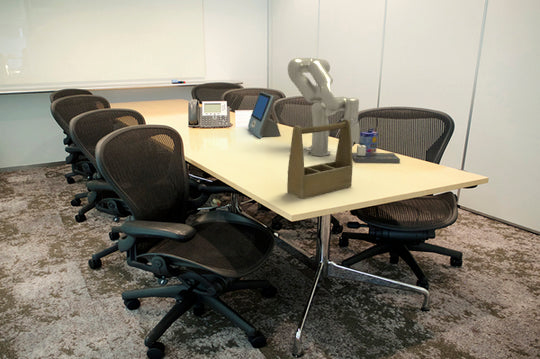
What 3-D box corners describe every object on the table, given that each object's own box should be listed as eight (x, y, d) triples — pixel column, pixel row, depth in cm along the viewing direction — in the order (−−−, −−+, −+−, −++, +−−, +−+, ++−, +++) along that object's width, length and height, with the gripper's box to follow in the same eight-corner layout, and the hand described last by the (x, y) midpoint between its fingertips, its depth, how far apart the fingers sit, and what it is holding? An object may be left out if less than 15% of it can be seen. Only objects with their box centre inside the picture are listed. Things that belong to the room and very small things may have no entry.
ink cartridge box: (364, 153, 248) (365, 129, 244) (358, 151, 253) (359, 128, 249) (376, 152, 253) (378, 128, 248) (370, 150, 257) (372, 127, 253)
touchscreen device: (245, 130, 321) (246, 90, 312) (270, 130, 326) (271, 91, 317) (256, 138, 288) (257, 95, 280) (283, 138, 293) (285, 95, 285)
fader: (358, 155, 231) (358, 146, 229) (356, 153, 235) (357, 144, 234) (365, 155, 231) (366, 146, 229) (363, 153, 235) (364, 145, 233)
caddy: (302, 199, 170) (304, 127, 162) (286, 192, 179) (287, 123, 170) (351, 186, 187) (356, 120, 178) (335, 181, 195) (338, 117, 186)
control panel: (355, 162, 227) (356, 158, 226) (351, 156, 241) (351, 152, 240) (399, 163, 227) (400, 158, 226) (392, 157, 240) (393, 152, 239)
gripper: (338, 122, 224) (336, 154, 229) (365, 122, 224) (363, 155, 229) (336, 119, 231) (334, 151, 237) (363, 120, 231) (360, 152, 236)
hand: (348, 153), depth 233 cm, fingers closed
